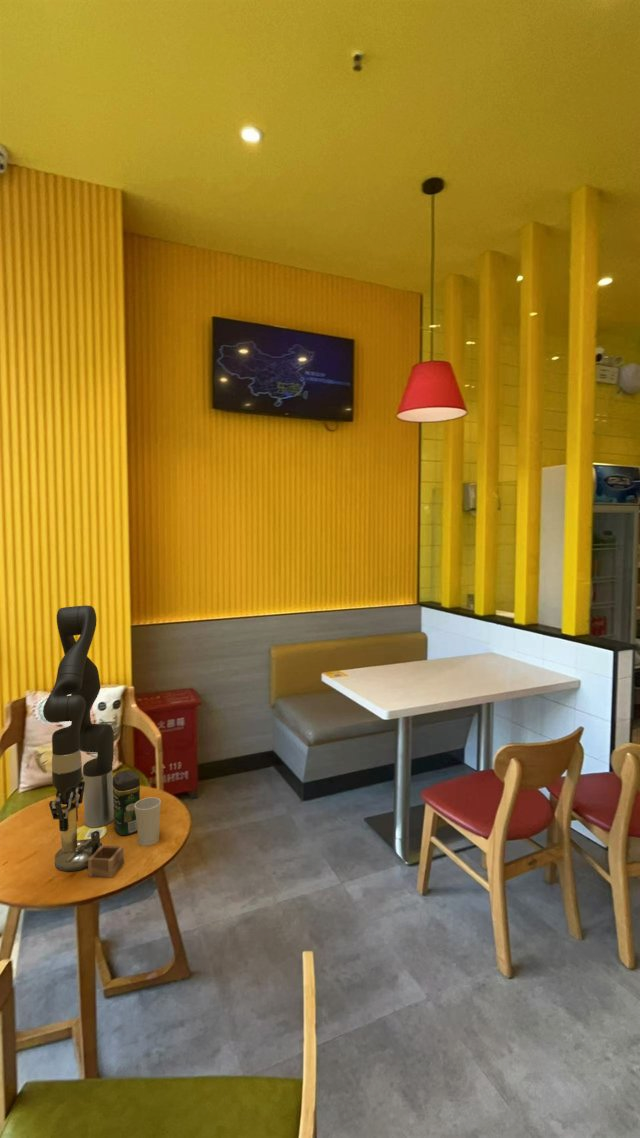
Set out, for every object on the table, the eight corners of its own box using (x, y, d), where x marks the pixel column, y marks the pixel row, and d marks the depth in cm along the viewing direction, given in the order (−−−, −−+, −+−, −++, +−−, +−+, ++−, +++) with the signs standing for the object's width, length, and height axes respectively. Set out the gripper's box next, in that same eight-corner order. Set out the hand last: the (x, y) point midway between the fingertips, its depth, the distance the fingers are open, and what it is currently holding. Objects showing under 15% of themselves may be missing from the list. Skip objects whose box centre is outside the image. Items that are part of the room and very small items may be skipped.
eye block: (101, 862, 157) (100, 845, 157) (124, 863, 156) (123, 846, 156) (88, 876, 150) (88, 859, 150) (112, 878, 149) (111, 860, 149)
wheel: (45, 868, 154) (44, 841, 153) (73, 843, 167) (72, 818, 166) (86, 873, 151) (85, 845, 151) (112, 847, 164) (111, 822, 164)
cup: (131, 840, 169) (129, 803, 168) (154, 830, 174) (153, 794, 174) (142, 850, 163) (141, 812, 162) (166, 840, 169) (165, 803, 168)
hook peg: (67, 843, 152) (65, 806, 152) (80, 844, 152) (79, 806, 151) (58, 851, 148) (57, 812, 148) (72, 852, 148) (70, 813, 147)
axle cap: (77, 845, 161) (77, 839, 160) (86, 846, 160) (86, 839, 160) (71, 851, 158) (71, 845, 157) (81, 851, 157) (80, 845, 157)
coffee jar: (111, 826, 177) (109, 771, 176) (135, 818, 182) (133, 765, 181) (119, 839, 169) (117, 782, 169) (144, 831, 174) (142, 775, 173)
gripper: (69, 756, 156) (70, 813, 157) (38, 776, 142) (40, 839, 143) (93, 757, 156) (94, 814, 156) (64, 777, 141) (66, 841, 142)
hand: (68, 826), depth 150 cm, fingers closed on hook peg, 4 cm apart
